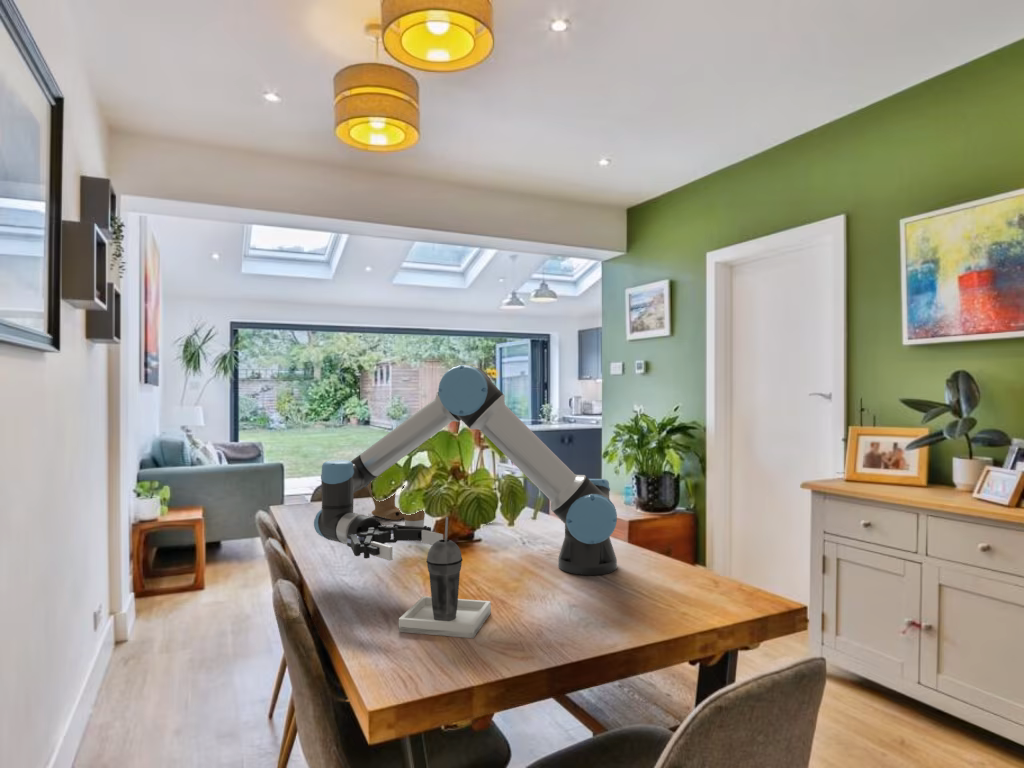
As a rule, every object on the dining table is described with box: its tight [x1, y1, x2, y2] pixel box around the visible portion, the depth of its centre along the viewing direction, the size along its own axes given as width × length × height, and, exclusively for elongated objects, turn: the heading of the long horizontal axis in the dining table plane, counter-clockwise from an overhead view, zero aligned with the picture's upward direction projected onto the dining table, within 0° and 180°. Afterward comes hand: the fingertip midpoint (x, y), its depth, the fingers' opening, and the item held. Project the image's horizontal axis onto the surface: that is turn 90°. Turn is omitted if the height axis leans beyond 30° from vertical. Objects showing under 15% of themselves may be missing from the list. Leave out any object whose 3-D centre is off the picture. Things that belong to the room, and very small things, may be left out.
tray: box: [398, 595, 492, 639], centre depth 124 cm, size 15×13×2 cm
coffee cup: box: [401, 484, 426, 527], centre depth 203 cm, size 8×8×15 cm
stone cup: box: [367, 482, 404, 521], centre depth 222 cm, size 15×12×15 cm
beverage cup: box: [425, 516, 463, 621], centre depth 124 cm, size 7×7×20 cm
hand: (417, 547), depth 130 cm, fingers open, 13 cm apart
